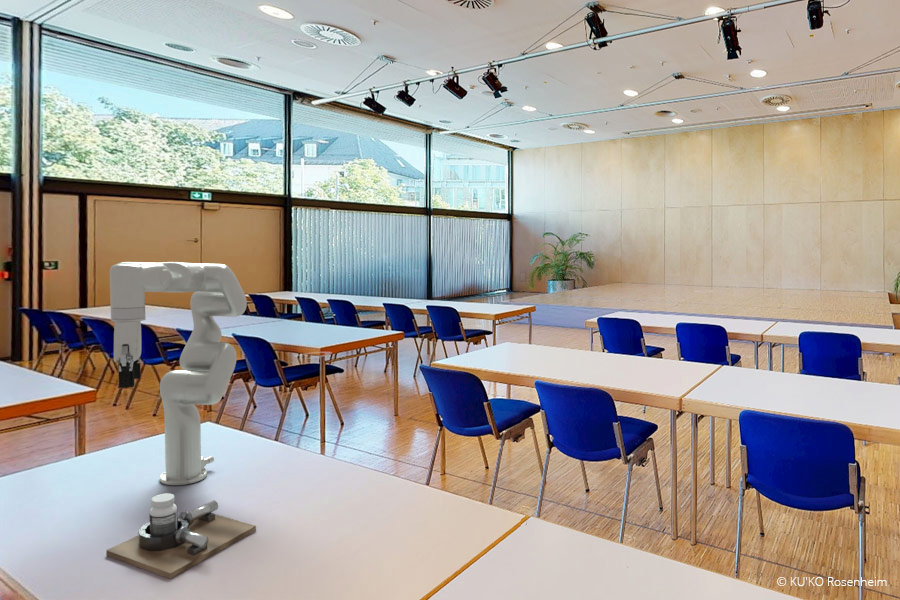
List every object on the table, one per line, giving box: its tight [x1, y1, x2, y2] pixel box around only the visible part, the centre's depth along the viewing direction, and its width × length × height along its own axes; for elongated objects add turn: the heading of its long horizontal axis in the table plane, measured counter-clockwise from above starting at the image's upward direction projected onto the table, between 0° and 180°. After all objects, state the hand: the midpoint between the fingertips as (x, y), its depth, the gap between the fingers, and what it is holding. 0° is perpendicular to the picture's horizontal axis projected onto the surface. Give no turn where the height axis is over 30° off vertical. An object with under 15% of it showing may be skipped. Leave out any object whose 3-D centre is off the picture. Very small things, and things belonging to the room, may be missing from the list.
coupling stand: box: [106, 500, 257, 580], centre depth 139 cm, size 24×20×6 cm
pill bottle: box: [149, 492, 179, 535], centre depth 137 cm, size 6×6×10 cm
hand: (130, 382), depth 151 cm, fingers open, 9 cm apart
